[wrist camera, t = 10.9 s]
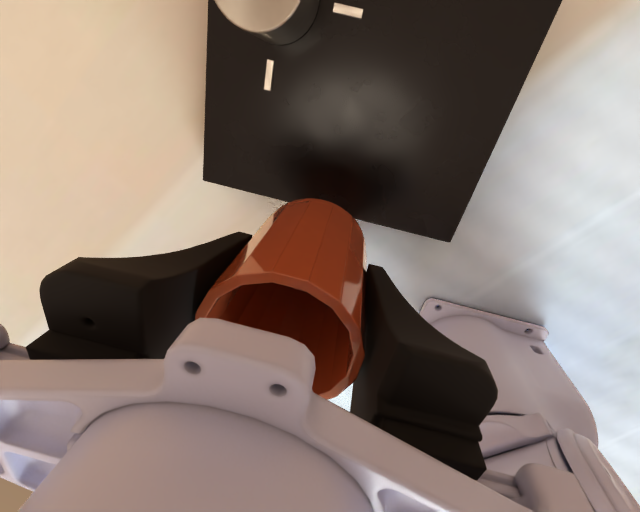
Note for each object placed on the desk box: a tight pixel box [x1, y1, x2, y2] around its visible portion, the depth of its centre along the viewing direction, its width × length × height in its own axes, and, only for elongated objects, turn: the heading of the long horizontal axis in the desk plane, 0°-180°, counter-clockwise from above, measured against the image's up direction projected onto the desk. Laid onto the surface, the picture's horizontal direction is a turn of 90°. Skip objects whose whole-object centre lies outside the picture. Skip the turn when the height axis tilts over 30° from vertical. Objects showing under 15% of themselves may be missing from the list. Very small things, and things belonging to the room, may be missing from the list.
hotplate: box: [203, 0, 562, 242], centre depth 17 cm, size 17×14×3 cm
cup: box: [195, 198, 367, 400], centre depth 13 cm, size 5×5×7 cm
